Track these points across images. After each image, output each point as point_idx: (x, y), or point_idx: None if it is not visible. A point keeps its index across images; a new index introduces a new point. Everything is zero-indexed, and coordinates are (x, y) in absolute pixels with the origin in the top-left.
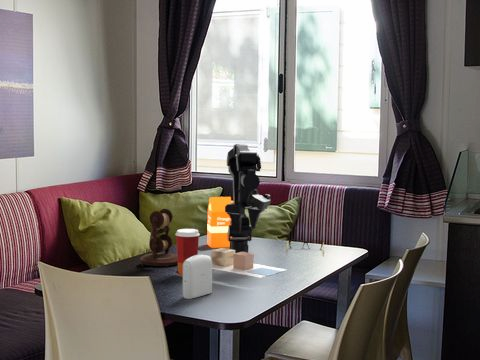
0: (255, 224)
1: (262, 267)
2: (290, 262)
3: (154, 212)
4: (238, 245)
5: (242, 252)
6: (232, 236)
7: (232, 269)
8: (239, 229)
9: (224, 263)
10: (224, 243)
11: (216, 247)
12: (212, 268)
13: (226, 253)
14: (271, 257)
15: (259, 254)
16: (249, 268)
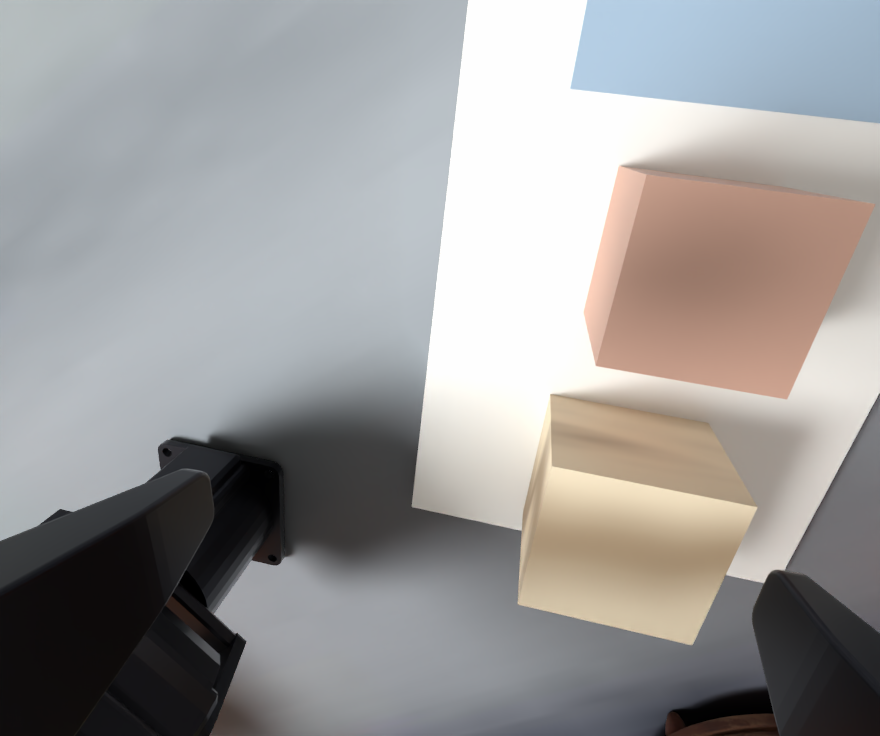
0: (116, 513)
1: (554, 83)
2: (78, 35)
3: None
4: (213, 550)
5: (644, 341)
6: (219, 657)
7: None
8: (873, 632)
9: (716, 439)
10: None
11: None
12: (832, 477)
13: (717, 490)
14: (70, 291)
15: (69, 410)
16: (692, 175)
